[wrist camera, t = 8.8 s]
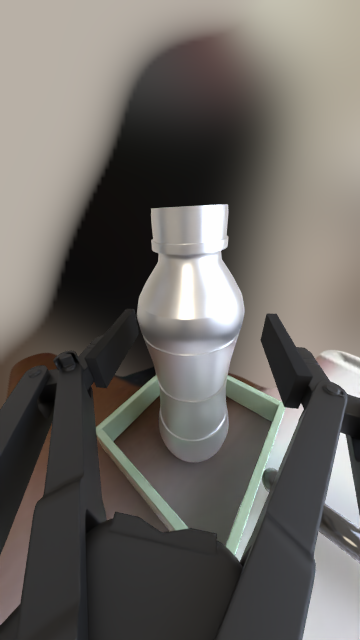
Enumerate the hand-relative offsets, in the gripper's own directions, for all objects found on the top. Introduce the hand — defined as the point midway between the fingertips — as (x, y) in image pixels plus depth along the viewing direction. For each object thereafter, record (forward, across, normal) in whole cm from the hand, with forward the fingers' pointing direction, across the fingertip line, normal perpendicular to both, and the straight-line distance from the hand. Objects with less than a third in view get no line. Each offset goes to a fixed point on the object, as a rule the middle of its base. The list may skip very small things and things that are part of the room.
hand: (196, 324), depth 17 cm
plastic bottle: (-4, 0, -11) cm, 12 cm away
